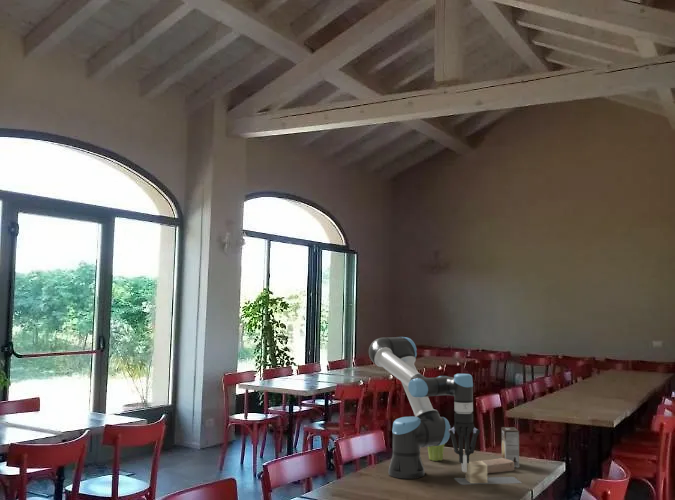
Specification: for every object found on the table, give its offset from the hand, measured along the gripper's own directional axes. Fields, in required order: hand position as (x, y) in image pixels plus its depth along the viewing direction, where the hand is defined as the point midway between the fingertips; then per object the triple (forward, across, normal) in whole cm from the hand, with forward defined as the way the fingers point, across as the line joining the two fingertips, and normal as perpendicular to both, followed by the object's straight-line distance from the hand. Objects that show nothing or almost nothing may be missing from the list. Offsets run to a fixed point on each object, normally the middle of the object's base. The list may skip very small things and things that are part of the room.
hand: (464, 471), depth 283 cm
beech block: (+4, +5, 0) cm, 6 cm away
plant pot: (+5, -2, +40) cm, 40 cm away
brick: (+5, +18, +17) cm, 25 cm away
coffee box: (+5, +29, +27) cm, 40 cm away
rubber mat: (+4, +10, 0) cm, 11 cm away
